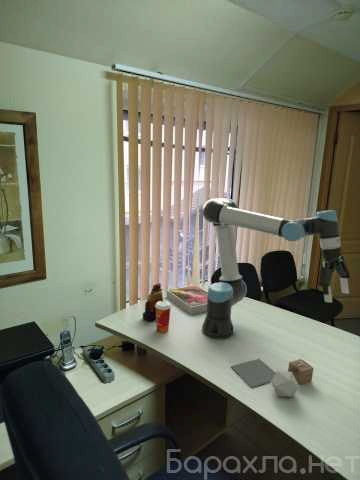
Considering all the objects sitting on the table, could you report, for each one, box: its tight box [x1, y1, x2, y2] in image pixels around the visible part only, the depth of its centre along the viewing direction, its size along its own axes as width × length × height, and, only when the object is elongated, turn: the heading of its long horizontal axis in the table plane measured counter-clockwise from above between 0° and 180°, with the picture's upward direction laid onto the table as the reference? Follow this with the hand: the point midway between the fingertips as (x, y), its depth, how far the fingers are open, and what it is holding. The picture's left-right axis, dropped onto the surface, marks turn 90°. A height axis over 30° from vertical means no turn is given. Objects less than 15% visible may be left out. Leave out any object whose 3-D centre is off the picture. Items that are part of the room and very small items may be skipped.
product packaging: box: [166, 284, 208, 316], centre depth 179 cm, size 22×28×5 cm
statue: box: [142, 282, 164, 323], centre depth 154 cm, size 12×8×20 cm, turn 129°
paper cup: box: [155, 300, 172, 334], centre depth 143 cm, size 8×8×14 cm
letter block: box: [287, 358, 314, 387], centre depth 112 cm, size 6×6×6 cm
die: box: [270, 370, 301, 398], centre depth 103 cm, size 8×9×10 cm
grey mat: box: [230, 358, 277, 389], centre depth 115 cm, size 13×14×1 cm
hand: (337, 297), depth 124 cm, fingers open, 13 cm apart
